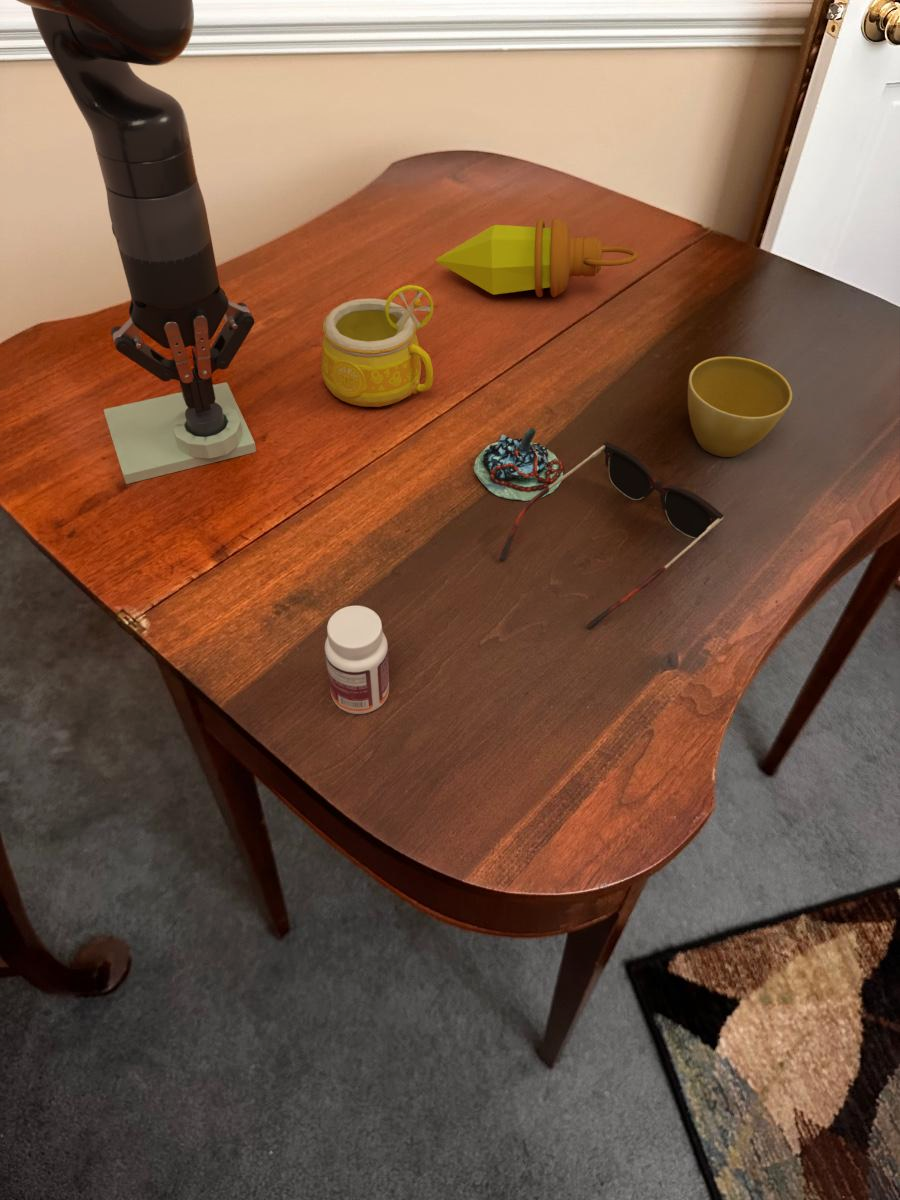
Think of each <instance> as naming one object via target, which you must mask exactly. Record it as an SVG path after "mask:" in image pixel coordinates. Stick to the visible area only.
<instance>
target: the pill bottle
mask: <svg viewBox="0 0 900 1200" xmlns="http://www.w3.org/2000/svg"><path fill="white" fill-rule="evenodd" d="M326 632H327V637H326V639H325V643H324V654H325V663H326V671H327V677H328V685H329V691H330V696H331V698H332V700H333V703H334V704H335V705H336V706H337V708H339V709H340V710H342V711H344V712H346V713H349V714H354V715H365V714H368V713H372V712H374V711H375V710H378V709H379V708H381V707H382V706H383V704H384V703H385V702H386V700H387V699H388V698H389V697H388V696H389V694H390V669H389V645H388V644H389V643H388V639H387V637H386V635H385V633H384V631H383V623H382V620H381V618H380V616H379V614H377V612H376V611H374V610H373V609H371V608H369V607H366V606H363V605H348V606H345V607H342V608H339V610H337V611H335V612H334V613H333V614H332V615H331V616H330V617H329V619H328V622H327V625H326Z"/></svg>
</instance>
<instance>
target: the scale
mask: <svg viewBox="0 0 900 1200" xmlns="http://www.w3.org/2000/svg"><path fill="white" fill-rule="evenodd" d="M213 388H214V394H215V398H216V399H215V403H217V404H219V405H220V406H221V408H222V410H223V415H224V420H225V428H224V429H223V431H221V432H220V433H218V434H217V435H212V436H208V437H198V436H194V435H193V434H191V433H190V431H189V429H188V425H187V421H186V417H185V411H186V409H187V408H188V407H187V405H186V403H185V401H184V398H183V395H182V391H180V392H175V393H171V394H166V395H162V396H158V397H153V398H148V399H144V400H140V401H135V402H131V403H126V404H122V405H117V406H112V407H107V408H104V409H103V410H102V411H103V414H104V417H105V420H106V424H107V427H108V430H109V434H110V436H111V440H112V443H113V447H114V450H115V454H116V456H117V460H118V463H119V466H120V470H121V473H122V476H123V480H124V482H125V484H126V485H129V484H133V483H138V482H141V481H145V480H149V479H153V478H158V477H161V476H165V475H169V474H173V473H177V472H181V471H185V470H189V469H193V468H199V467H201V466H205V465H210V464H213V463H217V462H221V461H226V460H230V459H234V458H238V457H242V456H245V455H246V456H247V455H251V454H254V453H257V448H256V447H257V446H256V442H255V440H254V437H253V436H252V433H251V431H250V429H249V427H248V425H247V422H246V420H245V418H244V416H243V414H242V412H241V409H240V407H239V405H238V403H237V401H236V399H235V397H234V394H233V392H232V391H231V387H230V386H229V383H228V382H227V381H225V382H220V383H216V384H213Z"/></svg>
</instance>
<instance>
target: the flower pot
mask: <svg viewBox="0 0 900 1200" xmlns="http://www.w3.org/2000/svg"><path fill="white" fill-rule="evenodd" d="M792 399H793V391H792V388H791V385H790V384H789V382H788V380H787V379H786V378H785V377H784V376H783V375H782V374H781V373H780V372H778V371H777V370H776V369H774V368H772V367H770V366H769V365H767V364H765V363H762V362H760V361H757V360H754V359H750V358H745V357H740V356H715V357H710V358H708V359H705V360H702V361H701V362H699V363H697V364H696V365H694V367H693V368H692V369H691V371H690V373H689V375H688V383H687V409H688V415H689V420H690V425H691V428H692V432H693V434H694V437H695V439H696V441H697V443H698V445H699V446H700V447H701V449H703V450H704V451H705V452H707V453H709V454H711V455H714V456H717V457H721V458H732V457H736V456H739V455H741V454H743V453H745V452H746V451H748V450H749V449H751V448H752V447H754V446H755V445H757V444H758V443H759V442H760V441H762V440H763V439H764V438H765V437H766V436H767V435H768V434H769V433H770V432H771V431H772V430H773V429H774V427H775V426H777V424H778V422H779V421H780V420H781V418H782V417H783V416H784V414H785V412H786V411H787V409H788V408H789V406H790V405H791V402H792Z"/></svg>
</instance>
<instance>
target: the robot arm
mask: <svg viewBox="0 0 900 1200" xmlns="http://www.w3.org/2000/svg"><path fill="white" fill-rule="evenodd" d="M16 1H17V2H18V3H21V4H24V5H25V6H28V7H30V8H31V12H32V17H33V18H34V21H35V24H36V27H37V29H38V32H39V34H40V36H41V39H42V40H43V43H44V44H45V47H46V49H47V51H48V52H49V54H50V56H51V58H52V60H53V62H54V64H55V66H56V68H57V69H58V71H59V73H60V75H61V77H62V79H63V81H64V83H65V85H66V86H67V89H68V90H69V92H70V95H71V96H72V98H73V100H74V102H75V105H76V106H77V108H78V109H79V111H80V113H81V115H82V117H83V118H84V120H85V122H86V124H87V126H88V127H89V130H90V132H91V136H92V140H93V144H94V147H95V152H96V156H97V160H98V164H99V167H100V171H101V175H102V178H103V182H104V187H105V191H106V198H107V208H108V212H109V218H110V222H111V231H112V234H113V236H114V238H115V241H116V244H117V249H118V252H119V256H120V259H121V260H120V261H121V263H122V268H123V271H124V274H125V278H126V282H127V286H128V290H129V294H130V304H129V308H128V313H129V316H130V317H129V318H128V319H127V321H126V322H125V323H123V325H122V326H120V325H115V326H114V327H112V329H111V330H110V334H111V335H110V336H111V338H112V340H113V344H114V346H115V349H116V351H117V352H119V353H120V354H122V355H123V356H125V357H126V358H127V359H129V360H130V361H132V362H134V364H136V365H138V366H140V367H141V368H142V369H145V371H147V372H149V373H150V374H152V375H153V376H155V377H156V378H158V379H159V380H161V381H162V382H165V383H166V382H169V381H172V380H176V381H178V382H179V386H180V392H182V395H183V398H184V401H185V403H186V405H187V407H188V408H189V409H192V408H194V410H195V412H196V413H199V412H203V411H208V410H211V408H210V404H214V403H215V399H216V398H215V394H214V388H213V385H214V384H213V380H212V379H213V378H212V375H213V374H214V372H216V371H217V370H221V371H222V370H223V371H224V370H227V369H228V368H229V366H230V365H231V363H232V362H233V360H234V358H235V357H236V355H237V353H238V352H239V350H240V348H241V346H242V345H243V343H244V341H245V340H246V338H247V337H248V335H249V333H250V332H251V330H252V329H253V327H254V325H255V318H254V317H253V314H252V312H251V310H250V308H249V307H248V305H247V304H246V303H244V302H238V303H235V302H233V301H231V300H229V298H228V296H227V295H226V292H225V290H224V289H223V288H222V287H221V284H220V280H219V274H218V269H217V262H216V257H215V252H214V245H213V240H212V234H211V229H210V228H211V227H210V224H209V217H208V213H207V208H206V202H205V199H204V195H203V193H202V189H201V186H200V183H199V179H198V175H197V170H196V165H195V160H194V154H193V148H192V143H191V136H190V131H189V126H188V122H187V117H186V114H185V111H184V108H183V107H182V105H181V104H180V102H179V101H178V100H177V99H176V98H175V97H174V96H172V95H171V94H170V93H167V92H166V91H163V90H161V89H159V88H157V87H155V86H153V85H151V84H149V83H147V82H146V81H144V80H143V79H141V78H140V77H139V76H138V75H137V74H136V73H135V72H134V71H133V69H132V68H131V66H130V64H134V65H140V66H147V67H148V66H149V67H150V66H151V67H152V66H153V67H157V66H163V65H167V64H169V63H171V62H174V61H175V60H176V59H177V58H178V57H180V55H182V54H183V52H184V51H185V50H186V48H187V46H188V45H189V43H190V40H191V38H192V34H193V31H194V25H195V24H194V23H195V22H194V21H195V9H194V4H193V3H194V1H193V0H16ZM223 320H224V322H225V323H224V325H223V326H222V328H221V330H220V331H219V333H218V334H217V336H216V338H215V339H214V342H213V343H212V345H211V346H210V341H211V339H213V337H214V336H215V334H216V332H217V330H218V329H219V327H220V324H221V323H222V321H223ZM141 332H142V333H144V334H145V335H146V336H148V337H149V338H150V339H152V340H153V341H154V342H156V343H157V344H158V345H160V346H161V347H163V348H164V349H169V352H170V354H171V357H172V358H170V359H168V358H166V357H165V356H164V355H162V354H161V353H160V352H158V351H157V350H156V349H154V348H152V347H151V346H149V345H148V344H147V343H145V341H144V337H143V335H142V333H141ZM188 347H190V351H191V359H192V365H193V368H192V367H191V364H190V358H189V356H188V353H187V350H186V348H188Z"/></svg>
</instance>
